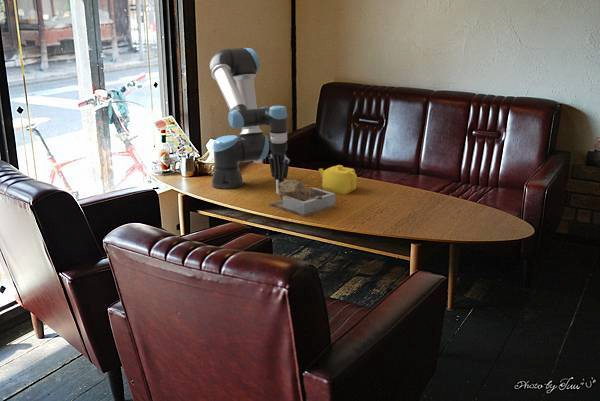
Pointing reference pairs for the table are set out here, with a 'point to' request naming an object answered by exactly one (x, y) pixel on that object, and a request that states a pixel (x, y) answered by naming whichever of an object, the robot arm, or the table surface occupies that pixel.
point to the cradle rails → (310, 201)
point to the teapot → (338, 179)
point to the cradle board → (279, 205)
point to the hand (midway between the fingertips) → (279, 193)
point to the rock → (293, 189)
